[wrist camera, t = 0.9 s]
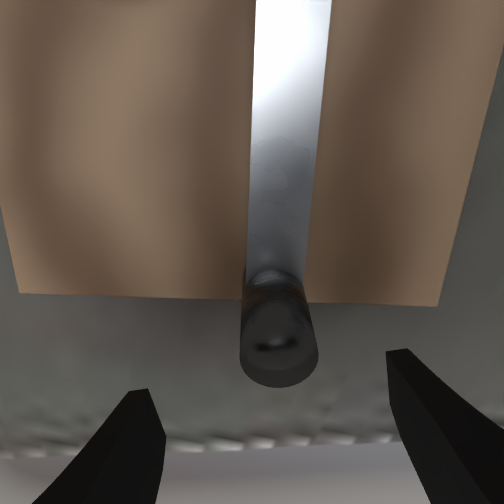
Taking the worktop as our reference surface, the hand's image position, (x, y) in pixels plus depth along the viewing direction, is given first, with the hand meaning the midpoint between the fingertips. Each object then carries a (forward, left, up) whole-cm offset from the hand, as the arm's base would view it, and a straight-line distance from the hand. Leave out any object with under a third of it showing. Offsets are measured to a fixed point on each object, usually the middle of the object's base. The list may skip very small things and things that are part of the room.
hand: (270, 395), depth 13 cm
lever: (0, -7, -8) cm, 11 cm away
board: (+2, -8, -10) cm, 13 cm away
